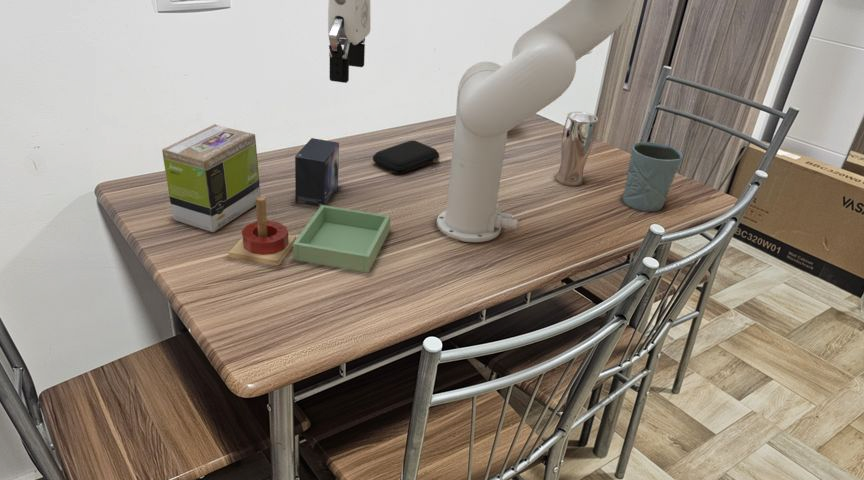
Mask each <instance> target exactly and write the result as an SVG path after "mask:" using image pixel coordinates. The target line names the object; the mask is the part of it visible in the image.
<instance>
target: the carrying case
mask: <svg viewBox="0 0 864 480" xmlns="http://www.w3.org/2000/svg"><path fill="white" fill-rule="evenodd" d="M439 159H440V154H439V151H438V150H437V149H436V148H434V147H432V146H430V145H427V144H425V143H422V142H419V141H417V140H408V141H405V142H402V143H399V144H396V145H393V146H389V147H387V148H385V149H381V150H379V151H377V152H376V153H375V154H373V156H372V161H373V162H374V163H375V164H376V165H377V166H379V167H381V168H384V169H385V170H387V171H390V172H392V173H394V174H397V175H400V174H401V175H402V174H405V173H407V172H410V171H412V170H413V171H414V170H415V169H418V168H421V167H424V166H426V165H428V164H435V163H436V162H437V161H439Z"/></svg>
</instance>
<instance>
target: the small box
mask: <svg viewBox="0 0 864 480" xmlns="http://www.w3.org/2000/svg"><path fill="white" fill-rule="evenodd" d="M339 162H340V142H337V141H331V140H325V139H319V138H314V137H311V138H310V139H309V140H308V141H307V142H306V144H305V145H304V146H303V147H302V148H301V149H300V150H299V151H298V153H296V154H295V156H294V179H295V180H294V181H295V187H294V189H295V193H294V194H295V195H294V203H295V204H300V205H306V206H313V207H319V208H320V206H321V205H325V206H327V204H328V202H329V201H330V199H331V198H332V196H333V195H334V194H335V193H336V191H337V190H338V189H339V165H340V164H339Z"/></svg>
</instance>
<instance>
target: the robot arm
mask: <svg viewBox="0 0 864 480" xmlns="http://www.w3.org/2000/svg"><path fill="white" fill-rule="evenodd" d="M634 2H635V0H569V1H568V2H567V3H565V4H564V6H562V7H560V8H559V9H557V10H556V11H554V12H553V13H552V14H551V15H549V16H548V17H546V18H545V19H544V20H542V21H541V22H539V23H537V24H536V25H535V26H533V27H532V28H530V29H529V30H527V31H526V32H524V33H523V34H522V35H521V36H519V37H518V39H517V40H516V42H515V43H514V46H513V48H512V53H511V59H510V60H509V61H508V62H506V63H504V65H502V66H501V65H499V64H497V63H496V62H492V61H481V62H478V63H477V62H476V63H475V64H473V65H471V66H469V68H468V69H466V71H465V72H464V73H463V75H462V76H461V78H460V81H459V83H458V87H457V95H456V111H455V120H454V121H455V123H454V133H453V143H452V151H451V159H450V160H451V162H450V169H449V179H448V188H447V189H448V190H447V198H446V208H445V210H443V211H442V212H440V213H439V215H437V218H436V226H437V229H438V230H439V231H440V232H441V233H443V234H444V235H446V236H448V237H450V238H452V239H455V240H458V241H459V242H465V243H483V242H489V241H491V240H493V239H495V238H497V237H498V236H499V235H500V234H501V231H502V228H506V229H510V230H517V228H518V223H519V219H518V218H517V219H515V218H513V215H514V213H513V214H512V213H508V212H507V213H506V212H505V213H504V212H502V211H500V210H499V206H500V205H499V203H498V198H499V191H500V185H501V178H502V171H503V164H504V157H505V153H506V146H507V138H508V132H509V131H511V130H513V129H514V128H515V127H517V126H519V125H520V124H522V123H523V122H525V121H526V120H528V119H529V118H531V117H533V116H534V115H536V114H538V112H540V111H542V110H544V109H545V108H547V106H549V105H551V104H552V103H554V102H555V101H556V100H557V99H559V98H561V96H562V95H563V94H565V92H566V91H567V90H568V88H569V87H570V86H571V85H572V83H573V82H574V78H575V76H576V70H577V61H579V60H580V59H581V58H583V57H585V55H587V54H588V53H590V52H591V51H593V49H595V48H596V47H597V46H599V45H600V44H601V43H603V42H604V41H606V40H607V39H608V38H609V37H611V36H612V35H613V34H614V33H615V32H616V31H617V29H618V28H619V27H621V26H620V25H622V24H623V22H624V21H625V20H626V18H627V16H628V15H629V12H630V11H631V8H632V6H633V4H634ZM327 6H328V8H327V9H328V10H327V34H328V41H329V45H328V47H329V48H328V49H329V52H328V57H329V81H330V82H337V83H345V84H347V83H349V80H350V67H355V68H363V67H364V66H365V56H366V55H365V53H366V52H365V51H366V44H365V42H366V37H368V36H369V35H370V32H371V0H328V5H327Z"/></svg>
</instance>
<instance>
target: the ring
mask: <svg viewBox="0 0 864 480" xmlns="http://www.w3.org/2000/svg"><path fill="white" fill-rule="evenodd" d="M288 235H289V230H288V227H287V226H286V225H284V224H282V223H281V222H280V221H279V222H278V221H273V220H267V236H268V237H265V238H262V237H258V225H257V221H254V222H252V223H249V224H247V225H245V227H244V228H243V229H242V230H241V238H242V239H243V246H244V248H245V249H246V250H248V251H250V252H251V253H256V254H262V255H265V254H274V253H277V252H280V251H282V250H284V249H285V248H286V246H287V245H288V244H289V241H288Z"/></svg>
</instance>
